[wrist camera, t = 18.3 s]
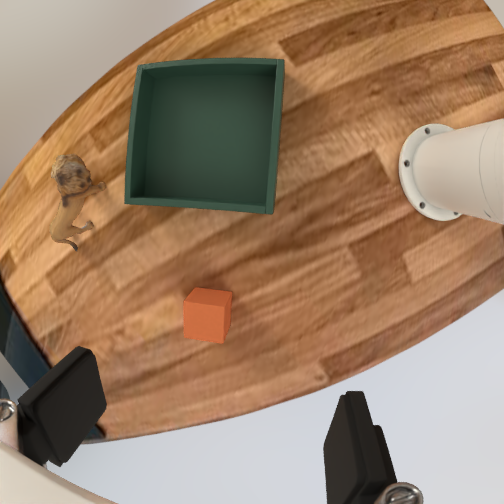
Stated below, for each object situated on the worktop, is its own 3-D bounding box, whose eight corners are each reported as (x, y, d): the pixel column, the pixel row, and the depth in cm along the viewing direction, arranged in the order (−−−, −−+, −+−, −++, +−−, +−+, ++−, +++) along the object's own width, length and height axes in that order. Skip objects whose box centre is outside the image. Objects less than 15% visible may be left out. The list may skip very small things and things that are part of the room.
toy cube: (232, 291, 39) (224, 306, 34) (230, 325, 40) (223, 343, 35) (195, 286, 39) (183, 301, 35) (195, 320, 41) (183, 337, 36)
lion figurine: (87, 151, 37) (46, 148, 28) (114, 160, 37) (74, 157, 28) (67, 244, 40) (28, 258, 32) (92, 257, 40) (54, 274, 32)
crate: (284, 72, 32) (284, 59, 28) (274, 210, 36) (272, 214, 32) (151, 74, 33) (137, 64, 29) (140, 201, 38) (124, 204, 33)
